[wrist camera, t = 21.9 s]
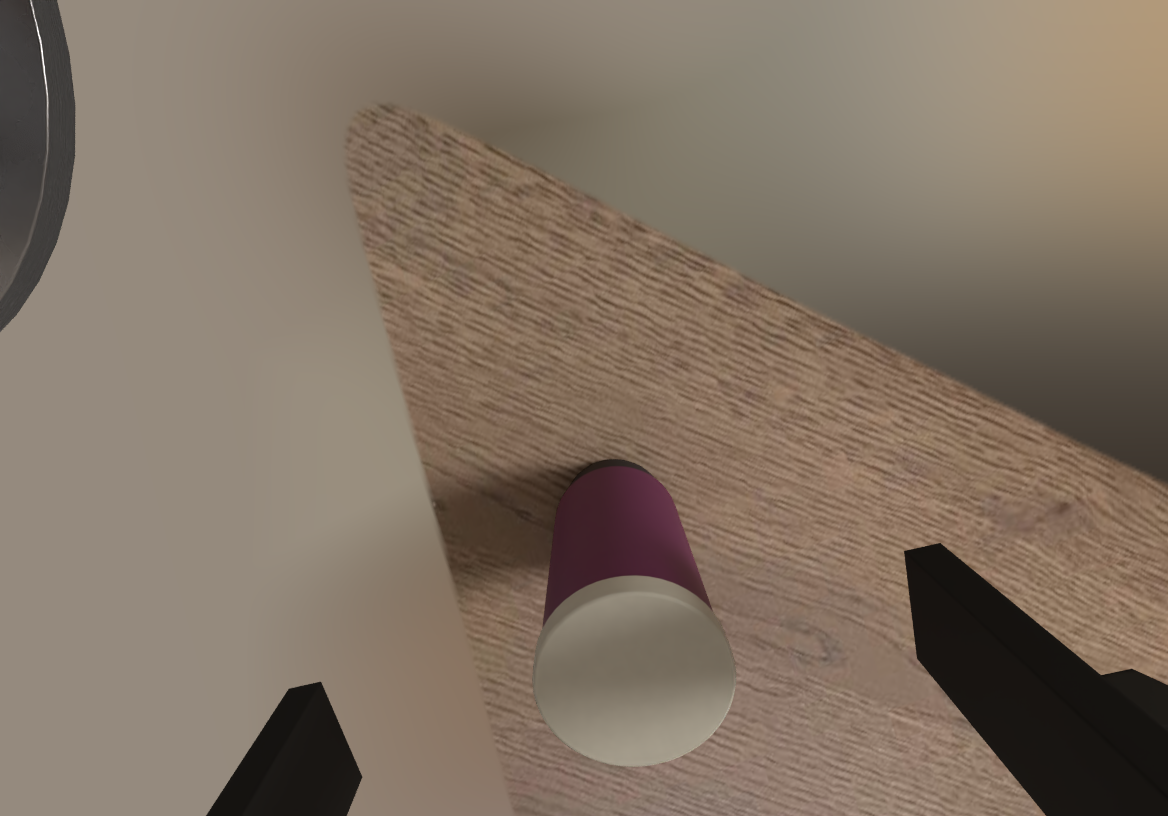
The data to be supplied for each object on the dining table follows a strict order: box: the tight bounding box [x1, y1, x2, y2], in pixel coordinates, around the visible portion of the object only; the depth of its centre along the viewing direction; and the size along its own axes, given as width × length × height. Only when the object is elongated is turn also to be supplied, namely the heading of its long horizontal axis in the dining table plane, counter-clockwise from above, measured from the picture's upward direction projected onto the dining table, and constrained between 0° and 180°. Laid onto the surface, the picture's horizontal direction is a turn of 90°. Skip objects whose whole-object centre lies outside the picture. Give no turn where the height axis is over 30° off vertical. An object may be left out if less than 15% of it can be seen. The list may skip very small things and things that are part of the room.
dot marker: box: [532, 460, 736, 767], centre depth 18 cm, size 5×5×10 cm
